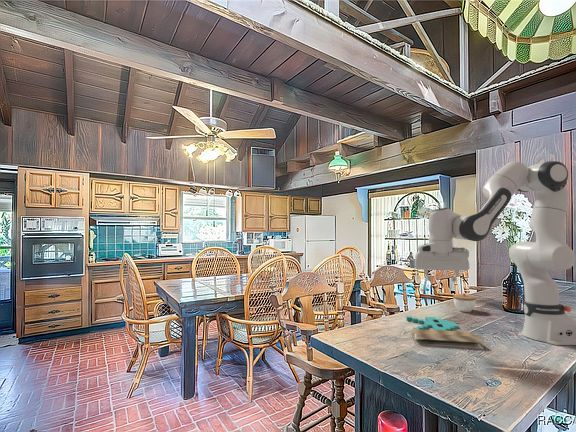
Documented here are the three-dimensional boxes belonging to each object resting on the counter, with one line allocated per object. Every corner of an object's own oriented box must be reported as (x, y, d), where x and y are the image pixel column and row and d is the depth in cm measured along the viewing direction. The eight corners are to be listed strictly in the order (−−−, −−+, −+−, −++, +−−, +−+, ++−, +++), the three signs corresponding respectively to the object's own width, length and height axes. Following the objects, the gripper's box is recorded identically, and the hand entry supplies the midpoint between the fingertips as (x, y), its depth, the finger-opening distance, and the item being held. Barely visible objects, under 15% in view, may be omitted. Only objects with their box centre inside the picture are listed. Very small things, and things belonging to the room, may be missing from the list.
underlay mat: (473, 338, 129) (473, 336, 129) (484, 350, 116) (484, 349, 116) (411, 334, 135) (411, 333, 135) (415, 346, 122) (415, 344, 122)
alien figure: (414, 334, 137) (464, 336, 133) (414, 329, 137) (463, 331, 133) (406, 320, 157) (449, 322, 153) (406, 316, 157) (449, 317, 153)
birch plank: (477, 343, 122) (476, 337, 123) (482, 342, 117) (481, 336, 118) (414, 339, 128) (414, 334, 129) (416, 338, 123) (416, 333, 124)
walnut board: (471, 337, 129) (471, 332, 129) (477, 342, 123) (476, 337, 123) (412, 333, 135) (412, 328, 135) (414, 338, 129) (414, 333, 129)
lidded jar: (469, 314, 163) (468, 296, 163) (449, 309, 172) (449, 292, 172) (480, 311, 168) (479, 293, 169) (461, 307, 178) (460, 290, 178)
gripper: (466, 247, 129) (467, 280, 129) (413, 246, 135) (414, 278, 134) (471, 248, 123) (471, 283, 123) (415, 247, 129) (416, 281, 128)
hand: (441, 281), depth 128 cm, fingers open, 8 cm apart
